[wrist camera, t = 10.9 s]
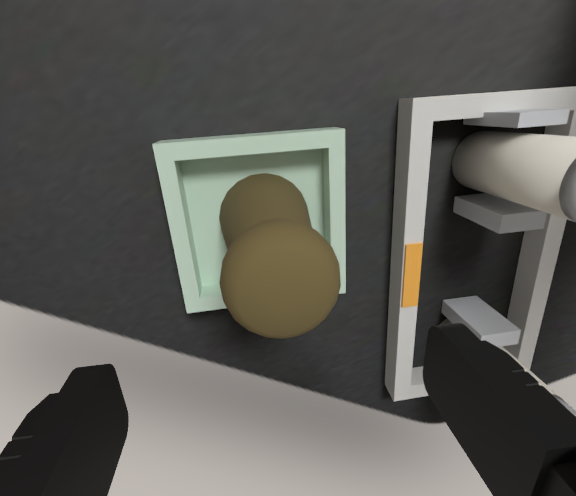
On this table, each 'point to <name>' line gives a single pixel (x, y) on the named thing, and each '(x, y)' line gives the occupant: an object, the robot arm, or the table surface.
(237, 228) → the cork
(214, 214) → the tray
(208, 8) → the table surface
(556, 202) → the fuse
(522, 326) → the white rectangular frame
